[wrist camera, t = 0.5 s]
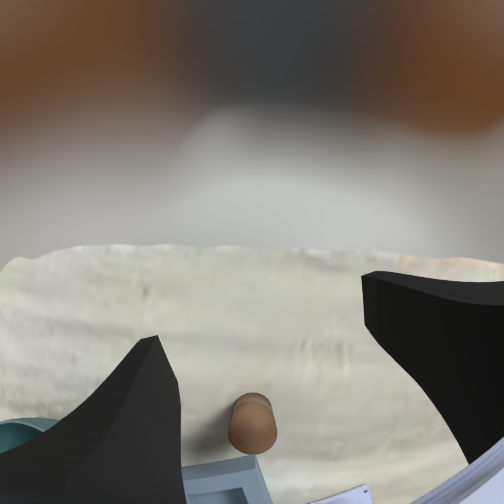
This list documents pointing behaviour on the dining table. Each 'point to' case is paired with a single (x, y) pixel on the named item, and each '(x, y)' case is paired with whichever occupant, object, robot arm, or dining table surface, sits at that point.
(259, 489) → the socket
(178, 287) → the dining table surface
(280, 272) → the dining table surface
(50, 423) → the teal bowl
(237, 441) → the peg
